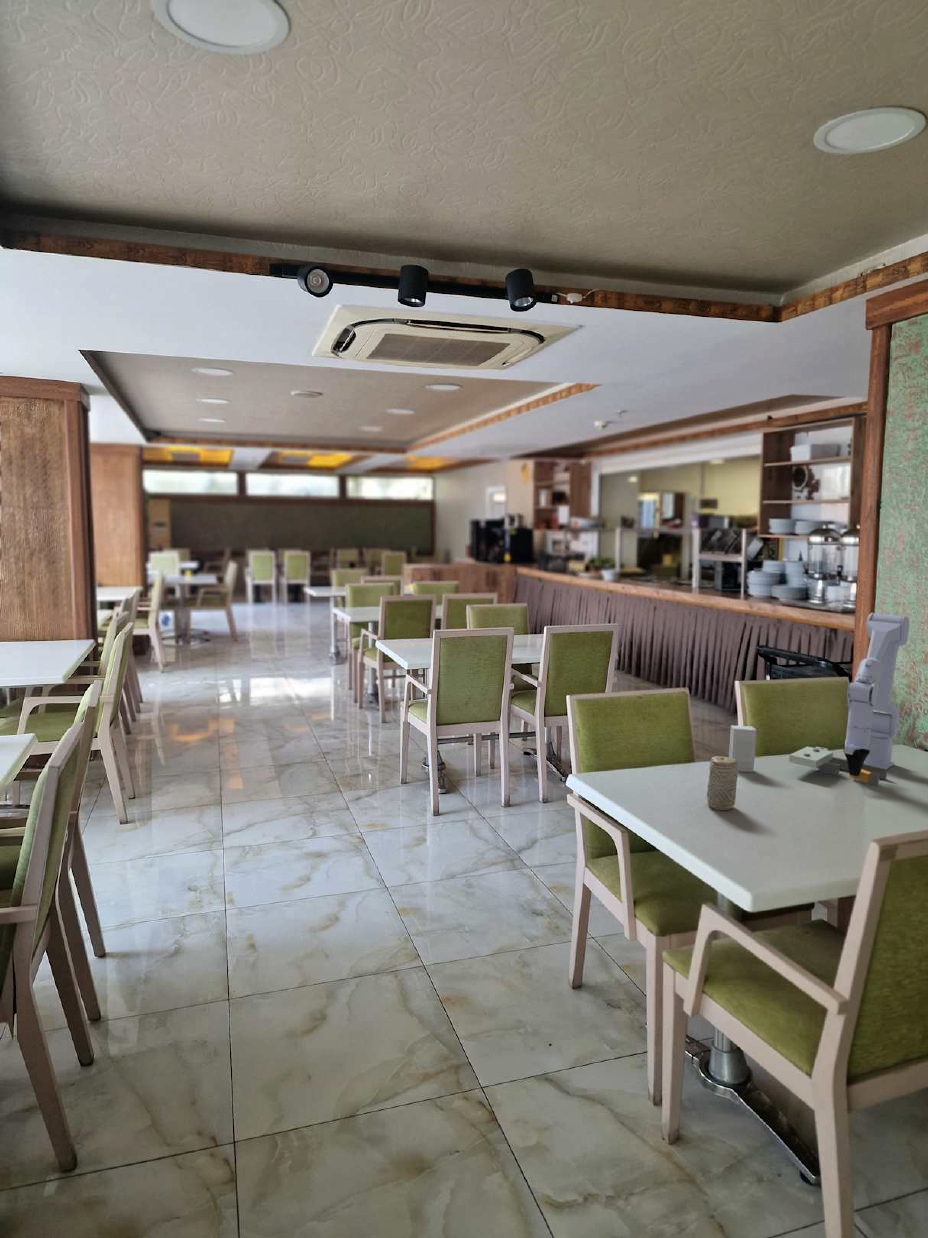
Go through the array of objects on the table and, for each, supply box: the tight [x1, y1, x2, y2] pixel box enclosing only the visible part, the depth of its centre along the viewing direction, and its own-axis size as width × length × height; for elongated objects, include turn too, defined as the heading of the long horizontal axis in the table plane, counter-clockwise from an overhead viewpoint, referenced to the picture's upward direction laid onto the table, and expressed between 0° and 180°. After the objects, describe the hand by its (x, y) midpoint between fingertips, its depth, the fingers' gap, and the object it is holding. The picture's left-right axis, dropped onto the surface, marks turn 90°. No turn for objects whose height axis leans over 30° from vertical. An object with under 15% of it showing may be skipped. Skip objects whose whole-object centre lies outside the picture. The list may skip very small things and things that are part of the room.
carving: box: [706, 755, 739, 811], centre depth 182 cm, size 6×8×12 cm
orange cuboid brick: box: [849, 769, 871, 783], centre depth 209 cm, size 2×5×2 cm, turn 25°
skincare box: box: [728, 725, 757, 773], centre depth 213 cm, size 6×4×12 cm
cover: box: [788, 746, 834, 769], centre depth 213 cm, size 7×15×6 cm, turn 136°
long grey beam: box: [818, 756, 888, 786], centre depth 212 cm, size 8×15×3 cm, turn 46°
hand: (854, 775), depth 208 cm, fingers closed
